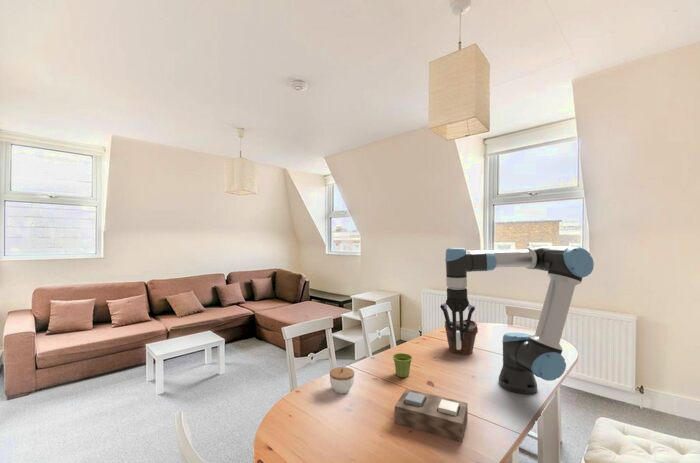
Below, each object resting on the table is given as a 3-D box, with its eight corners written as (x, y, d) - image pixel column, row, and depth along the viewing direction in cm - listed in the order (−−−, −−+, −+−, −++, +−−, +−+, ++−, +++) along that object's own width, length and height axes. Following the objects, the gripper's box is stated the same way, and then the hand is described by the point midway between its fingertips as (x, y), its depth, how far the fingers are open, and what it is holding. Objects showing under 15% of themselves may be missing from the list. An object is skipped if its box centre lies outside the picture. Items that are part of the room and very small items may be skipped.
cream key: (458, 414, 110) (458, 403, 110) (456, 423, 105) (456, 411, 105) (441, 410, 113) (441, 399, 113) (438, 418, 108) (438, 407, 108)
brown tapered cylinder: (481, 348, 184) (480, 317, 184) (474, 359, 167) (473, 326, 167) (450, 342, 193) (449, 314, 193) (441, 353, 176) (440, 321, 177)
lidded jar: (357, 386, 137) (357, 365, 137) (349, 398, 127) (349, 375, 127) (335, 382, 141) (335, 361, 141) (325, 393, 131) (325, 371, 131)
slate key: (425, 405, 116) (425, 395, 116) (421, 414, 110) (421, 402, 110) (409, 402, 118) (409, 391, 118) (404, 409, 113) (404, 398, 113)
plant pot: (412, 380, 143) (412, 361, 143) (391, 378, 145) (391, 359, 145) (412, 371, 152) (412, 353, 152) (393, 369, 154) (393, 352, 154)
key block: (467, 419, 113) (467, 402, 113) (462, 442, 100) (462, 423, 100) (406, 403, 123) (406, 388, 123) (394, 422, 111) (394, 405, 111)
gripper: (475, 286, 121) (477, 347, 121) (440, 285, 126) (442, 343, 126) (474, 290, 114) (476, 354, 114) (438, 288, 119) (440, 349, 119)
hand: (458, 348), depth 120 cm, fingers closed
